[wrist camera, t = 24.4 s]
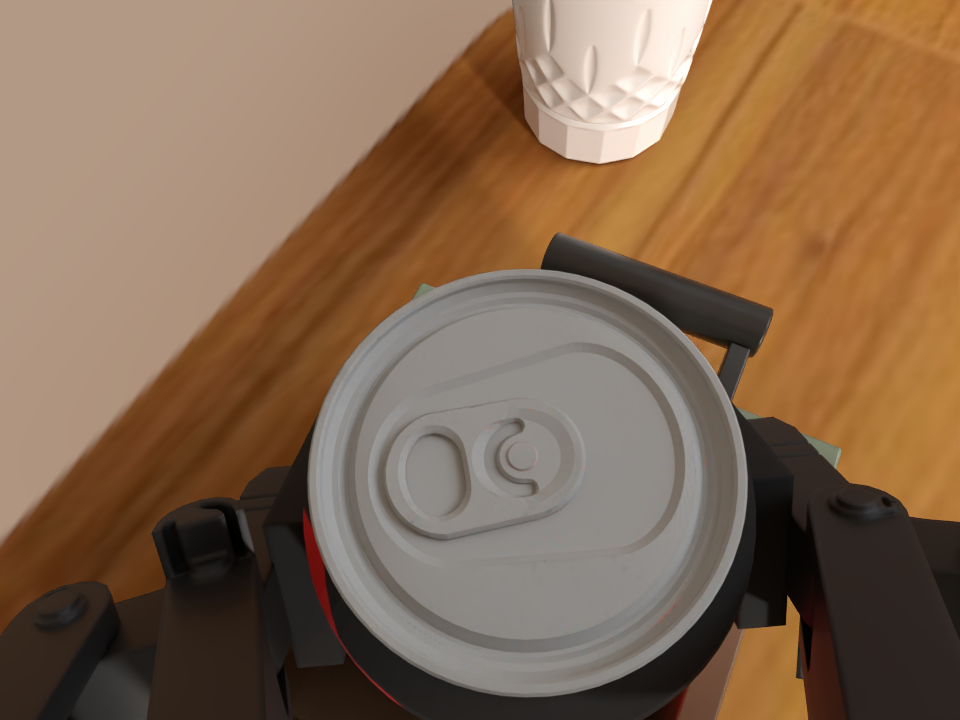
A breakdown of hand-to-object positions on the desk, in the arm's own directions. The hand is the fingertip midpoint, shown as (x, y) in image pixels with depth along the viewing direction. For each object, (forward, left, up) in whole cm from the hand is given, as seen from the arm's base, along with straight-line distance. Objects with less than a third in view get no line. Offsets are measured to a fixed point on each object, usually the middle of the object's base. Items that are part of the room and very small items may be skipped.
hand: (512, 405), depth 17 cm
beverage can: (+2, -3, -4) cm, 6 cm away
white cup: (-4, +18, -9) cm, 21 cm away
